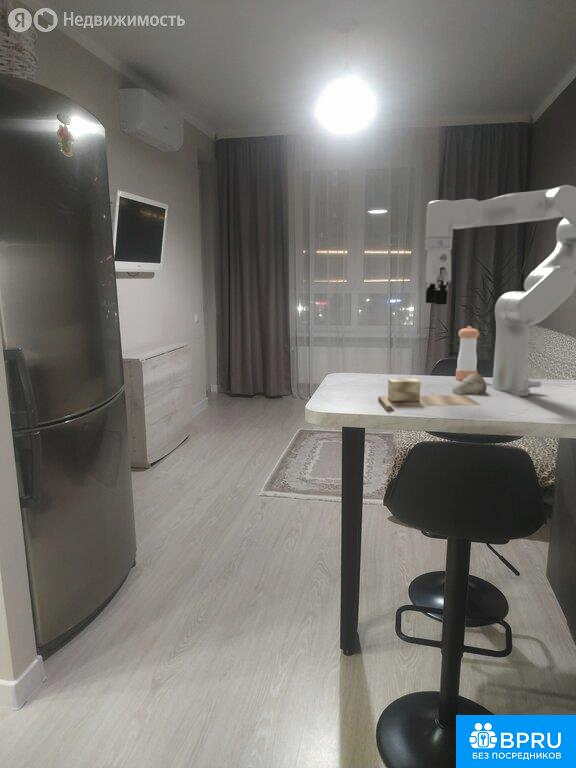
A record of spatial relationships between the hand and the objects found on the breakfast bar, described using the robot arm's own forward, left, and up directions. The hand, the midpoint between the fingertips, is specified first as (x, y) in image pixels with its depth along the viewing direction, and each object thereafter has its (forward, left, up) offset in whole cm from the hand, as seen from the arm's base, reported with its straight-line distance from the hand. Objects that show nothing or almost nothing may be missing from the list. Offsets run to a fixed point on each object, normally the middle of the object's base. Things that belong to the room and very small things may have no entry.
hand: (435, 303), depth 154 cm
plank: (+5, +13, -28) cm, 32 cm away
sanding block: (+12, +13, -27) cm, 32 cm away
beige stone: (-10, +3, -29) cm, 31 cm away
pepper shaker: (-20, -25, -28) cm, 43 cm away
